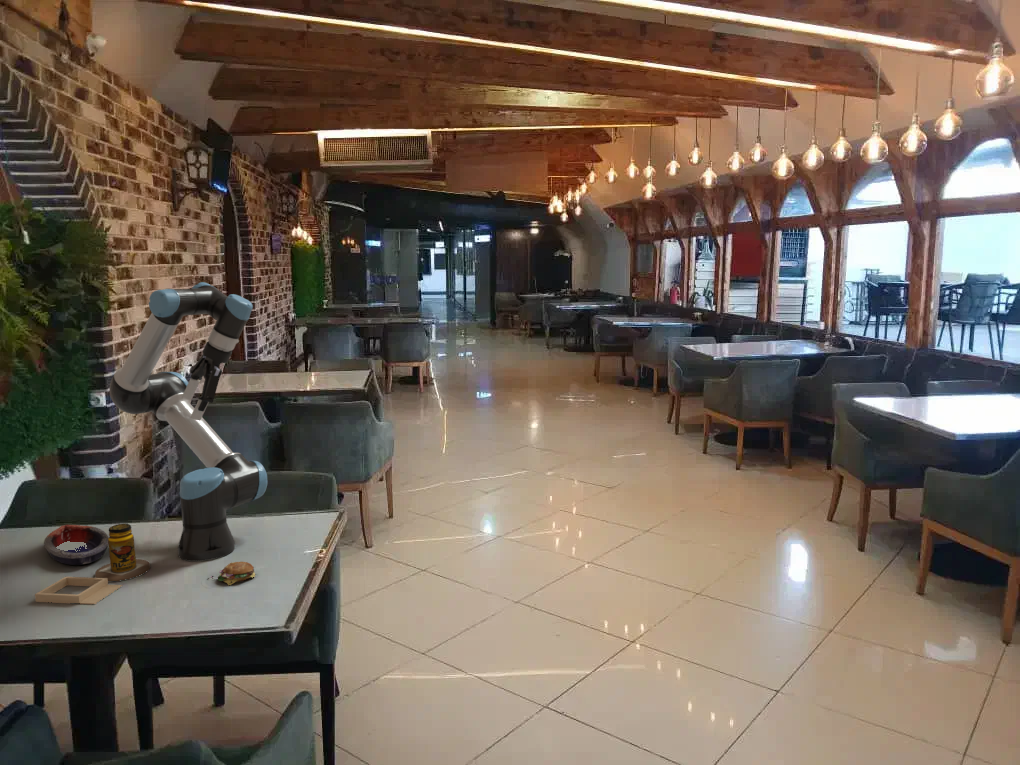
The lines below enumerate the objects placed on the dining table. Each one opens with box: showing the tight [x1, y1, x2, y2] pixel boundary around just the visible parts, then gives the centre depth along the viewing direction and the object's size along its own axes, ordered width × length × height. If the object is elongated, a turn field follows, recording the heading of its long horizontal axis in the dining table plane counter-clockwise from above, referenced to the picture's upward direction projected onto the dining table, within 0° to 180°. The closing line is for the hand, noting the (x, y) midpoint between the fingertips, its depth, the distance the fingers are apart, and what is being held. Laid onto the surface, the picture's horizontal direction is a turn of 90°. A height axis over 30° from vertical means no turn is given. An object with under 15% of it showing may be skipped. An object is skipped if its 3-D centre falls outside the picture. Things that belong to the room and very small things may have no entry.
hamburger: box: [210, 561, 256, 586], centre depth 192 cm, size 14×14×6 cm
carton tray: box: [34, 576, 123, 605], centre depth 183 cm, size 16×11×2 cm
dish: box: [43, 524, 110, 566], centre depth 211 cm, size 16×31×5 cm, turn 39°
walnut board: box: [95, 558, 151, 582], centre depth 197 cm, size 13×13×1 cm
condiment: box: [100, 523, 143, 575], centre depth 196 cm, size 7×8×12 cm
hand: (190, 408), depth 217 cm, fingers open, 13 cm apart
